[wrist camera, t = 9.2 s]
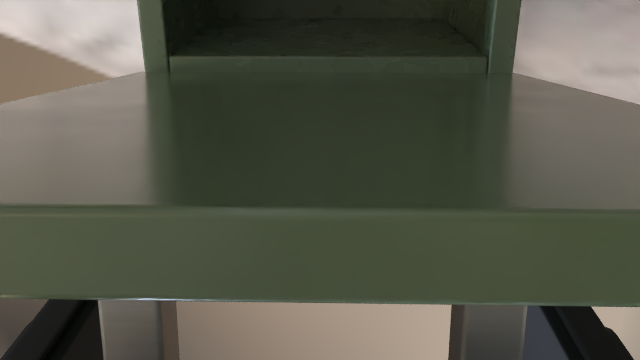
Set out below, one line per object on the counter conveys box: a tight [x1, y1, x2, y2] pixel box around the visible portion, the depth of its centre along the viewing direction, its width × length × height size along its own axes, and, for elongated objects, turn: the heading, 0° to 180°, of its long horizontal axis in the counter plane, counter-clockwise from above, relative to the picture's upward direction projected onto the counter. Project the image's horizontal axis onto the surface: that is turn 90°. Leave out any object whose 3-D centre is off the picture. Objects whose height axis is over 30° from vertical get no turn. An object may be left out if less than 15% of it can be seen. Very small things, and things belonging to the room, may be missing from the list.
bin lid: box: [0, 72, 640, 360], centre depth 12 cm, size 14×12×5 cm
